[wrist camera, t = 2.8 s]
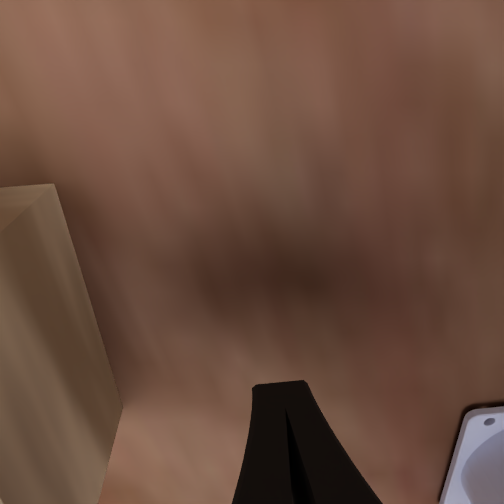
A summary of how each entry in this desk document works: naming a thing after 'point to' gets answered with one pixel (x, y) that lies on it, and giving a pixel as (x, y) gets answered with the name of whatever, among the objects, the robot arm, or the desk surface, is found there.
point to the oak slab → (49, 360)
